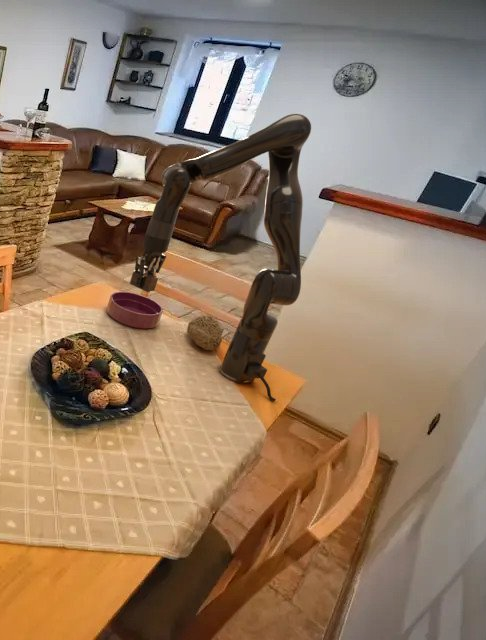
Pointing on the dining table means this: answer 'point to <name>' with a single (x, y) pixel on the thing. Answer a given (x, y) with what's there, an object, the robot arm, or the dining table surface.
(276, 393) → the dining table surface
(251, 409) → the dining table surface
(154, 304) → the bowl
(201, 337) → the sponge
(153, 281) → the eraser
